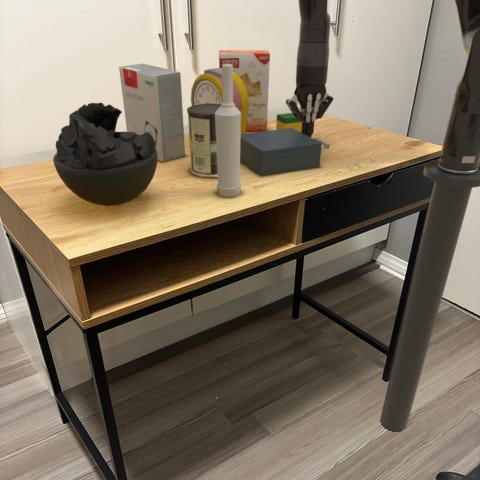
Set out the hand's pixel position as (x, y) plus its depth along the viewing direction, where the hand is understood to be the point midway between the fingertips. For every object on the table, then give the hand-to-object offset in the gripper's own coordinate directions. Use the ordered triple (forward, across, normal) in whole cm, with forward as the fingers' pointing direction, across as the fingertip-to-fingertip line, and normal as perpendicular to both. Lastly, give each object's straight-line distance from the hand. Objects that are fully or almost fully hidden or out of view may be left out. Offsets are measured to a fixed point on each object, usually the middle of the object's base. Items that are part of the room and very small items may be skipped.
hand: (307, 136), depth 132 cm
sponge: (+4, +3, +13) cm, 14 cm away
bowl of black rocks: (+4, -54, -14) cm, 56 cm away
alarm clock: (+4, -17, +18) cm, 25 cm away
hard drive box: (+4, -36, +15) cm, 39 cm away
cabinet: (+4, -11, -5) cm, 13 cm away
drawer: (+3, -7, -5) cm, 9 cm away
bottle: (+4, -30, -19) cm, 36 cm away
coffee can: (+4, -28, -4) cm, 29 cm away
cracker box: (+4, -6, +26) cm, 27 cm away
